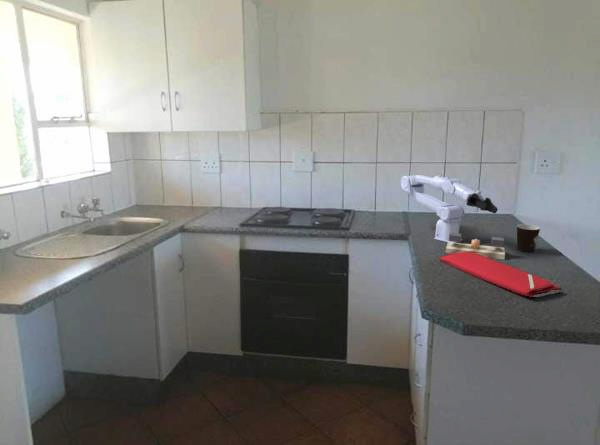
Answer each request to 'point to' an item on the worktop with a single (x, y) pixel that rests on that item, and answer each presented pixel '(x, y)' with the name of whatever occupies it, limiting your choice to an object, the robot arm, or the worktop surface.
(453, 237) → the button
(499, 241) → the button
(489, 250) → the mount board
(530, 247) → the coffee mug
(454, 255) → the dish drying mat
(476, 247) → the orange knob
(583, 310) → the worktop surface
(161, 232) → the worktop surface
